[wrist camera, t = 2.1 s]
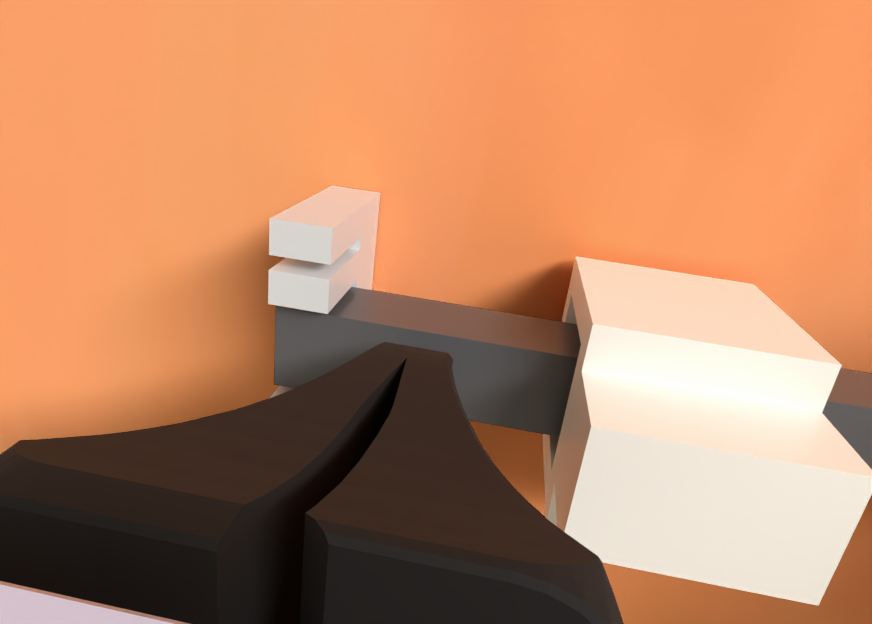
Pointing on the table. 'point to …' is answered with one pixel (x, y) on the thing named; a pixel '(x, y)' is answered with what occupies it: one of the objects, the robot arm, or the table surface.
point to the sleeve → (701, 435)
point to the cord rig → (441, 327)
